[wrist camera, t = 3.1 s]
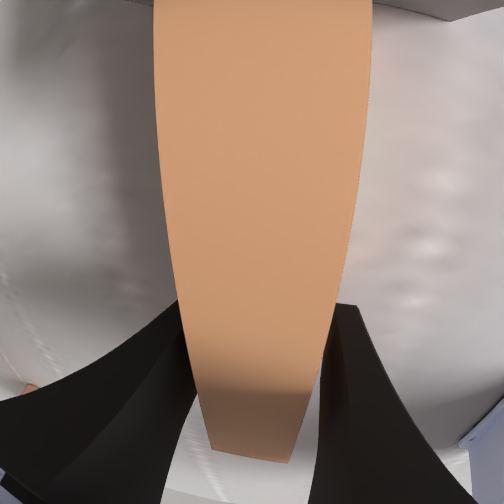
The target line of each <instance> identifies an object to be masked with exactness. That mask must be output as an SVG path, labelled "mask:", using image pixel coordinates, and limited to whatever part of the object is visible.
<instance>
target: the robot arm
mask: <svg viewBox="0 0 504 504" xmlns="http://www.w3.org/2000/svg"><path fill="white" fill-rule="evenodd" d="M196 395H197V390H196V385H195V381H194V377H193V372H192V368H191V363H190V359H189V354H188V349H187V344H186V339H185V334H184V329H183V324H182V319H181V313H180V308H179V302H178V300H176V301H175V302H174V303H173V304H172V305H171V306H169V307H168V308H167V309H166V310H165V311H164V312H162V313H161V314H160V315H159V316H157V317H156V318H155V319H154V320H153V321H151V322H150V323H149V324H148V325H146V326H145V327H144V328H143V329H141V330H140V331H139V332H137V333H136V334H135V335H133V336H132V337H131V338H129V339H128V340H127V341H125V342H124V343H122V344H121V345H120V346H118V347H117V348H115V349H114V350H112V351H111V352H109V353H108V354H106V355H105V356H103V357H101V358H100V359H98V360H96V361H95V362H93V363H91V364H90V365H88V366H86V367H84V368H82V369H80V370H78V371H76V372H74V373H72V374H70V375H68V376H67V377H65V378H63V379H61V380H58V381H56V382H54V383H52V384H49V385H47V386H45V387H42V388H39V389H37V390H34V391H32V392H29V393H26V394H23V395H20V396H17V397H13V398H10V399H6V400H3V401H0V504H160V502H161V498H162V494H163V490H164V486H165V483H166V479H167V475H168V472H169V468H170V465H171V461H172V458H173V455H174V451H175V448H176V445H177V442H178V439H179V436H180V433H181V430H182V427H183V424H184V422H185V419H186V417H187V415H188V413H189V410H190V408H191V406H192V404H193V402H194V399H195V397H196ZM458 448H459V449H464V448H468V451H469V459H470V469H471V481H472V496H473V497H472V496H471V495H470V494H469V493H468V492H467V491H466V490H465V489H464V488H463V487H462V486H461V485H460V483H459V482H458V481H457V480H456V479H455V478H454V476H453V475H452V474H451V473H450V472H449V470H448V469H447V468H446V467H445V465H444V464H443V463H442V461H441V460H440V459H439V457H438V456H437V455H436V453H435V452H434V451H433V449H432V448H431V447H430V445H429V444H428V443H427V441H426V440H425V438H424V437H423V435H422V434H421V432H420V431H419V429H418V428H417V426H416V425H415V423H414V422H413V420H412V418H411V417H410V415H409V413H408V412H407V410H406V408H405V407H404V405H403V403H402V401H401V400H400V398H399V396H398V394H397V392H396V391H395V389H394V387H393V385H392V383H391V381H390V379H389V377H388V375H387V373H386V371H385V369H384V367H383V365H382V363H381V361H380V358H379V356H378V354H377V352H376V350H375V348H374V345H373V343H372V341H371V338H370V336H369V334H368V331H367V329H366V326H365V324H364V321H363V319H362V316H361V313H360V311H359V308H358V307H357V306H356V305H348V304H340V303H336V304H335V308H334V313H333V317H332V321H331V325H330V329H329V333H328V337H327V340H326V344H325V348H324V352H323V360H322V368H321V377H320V409H319V437H318V450H317V458H316V464H315V470H314V475H313V481H312V486H311V491H310V495H309V500H308V504H504V398H503V399H502V400H501V401H500V402H499V404H498V405H497V406H496V407H495V408H494V409H493V410H492V411H491V412H490V413H489V414H488V415H487V416H486V417H485V418H484V419H483V420H482V421H481V422H480V423H479V424H478V425H477V426H476V427H475V428H474V429H472V430H471V431H470V432H469V433H468V434H467V435H466V436H465V437H464V438H463V439H461V440H460V441H459V442H458Z"/></svg>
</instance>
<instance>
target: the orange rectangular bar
mask: <svg viewBox="0 0 504 504" xmlns="http://www.w3.org/2000/svg"><path fill="white" fill-rule="evenodd" d="M153 44H154V85H155V106H156V123H157V137H158V150H159V161H160V172H161V182H162V191H163V200H164V209H165V217H166V224H167V232H168V239H169V246H170V253H171V260H172V266H173V273H174V279H175V285H176V291H177V297H178V302H179V308H180V313H181V319H182V324H183V329H184V334H185V339H186V344H187V349H188V354H189V359H190V363H191V368H192V372H193V377H194V381H195V385H196V390H197V394H198V398H199V402H200V406H201V410H202V414H203V418H204V422H205V426H206V430H207V433H208V437H209V441H210V444H211V448H212V449H213V450H217V451H221V452H226V453H230V454H235V455H240V456H245V457H250V458H255V459H261V460H267V461H273V462H280V463H287V464H288V462H289V459H290V456H291V453H292V451H293V448H294V445H295V442H296V439H297V436H298V433H299V431H300V428H301V425H302V422H303V419H304V415H305V412H306V409H307V406H308V403H309V400H310V396H311V393H312V390H313V387H314V383H315V380H316V376H317V373H318V370H319V366H320V362H321V359H322V355H323V352H324V348H325V344H326V340H327V337H328V333H329V329H330V325H331V321H332V317H333V313H334V308H335V304H336V300H337V296H338V291H339V287H340V282H341V278H342V273H343V268H344V263H345V258H346V253H347V248H348V243H349V238H350V233H351V227H352V221H353V216H354V210H355V204H356V197H357V191H358V184H359V177H360V170H361V163H362V155H363V147H364V139H365V130H366V120H367V110H368V98H369V85H370V70H371V50H372V0H154V23H153Z"/></svg>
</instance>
